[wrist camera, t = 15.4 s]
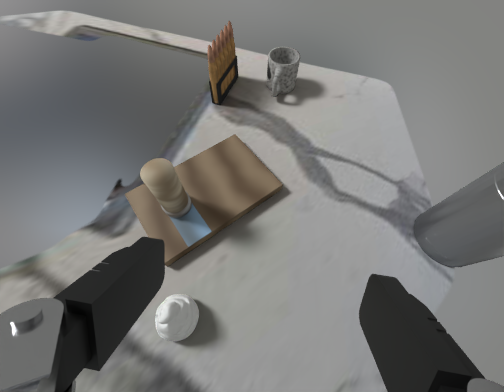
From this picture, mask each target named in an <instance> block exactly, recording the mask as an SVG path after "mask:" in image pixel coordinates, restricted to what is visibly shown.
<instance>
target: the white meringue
mask: <svg viewBox="0 0 504 392" xmlns="http://www.w3.org/2000/svg"><path fill="white" fill-rule="evenodd" d="M155 316H156V317H155V323H156V330H157V332H158V334H159V336H160V337H161V338H163V339H165V340H167V341H173V342H177V341H180V340H183V339H185V338H187V337H188V336H189V335H190V334H191V333H192V332H193V331H194V329H195V327H196V325H197V322H198V318H199V310H198V306H197V304H196V302H195V301H194V300H193V299H192V298H191V297H190V296H188V295H182V294H175V295H171V296H168V297H167V298H166V299H165V301H164V302H162V304H161V305H160V306H159V307H158V309H157V312H156V315H155Z"/></svg>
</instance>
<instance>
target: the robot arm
mask: <svg viewBox="0 0 504 392" xmlns="http://www.w3.org/2000/svg"><path fill="white" fill-rule="evenodd" d="M414 233H415V237H416V239H417V242H418V244H419V245H420V246H421V248H422V249H423V250H424V251H425V252H426V254H427V255H429V256H430V257H431V258H432V259H434V260H436V261H437V262H439V263H441V264H444V265H447V266H451V267H462V266H466V265H470V264H474V263H478V262H482V261H486V260H490V259H494V258H497V257H502V256H504V162H503V163H501V164H500V165H498V166H497V167H495V168H494V169H492V170H490V171H489V172H487V173H486V174H484V175H483V176H481V177H479V178H478V179H476V180H475V181H473V182H471V183H470V184H468V185H467V186H465V187H463V188H462V189H460V190H459V191H457V192H456V193H454V194H453V195H451V196H449V197H448V198H446V199H444V200H443V201H441V202H440V203H438V204H437V205H435V206H433V207H432V208H430V209H428V210H427V211H425V212H424V213H422V214H421V215H420V216H419V217H418V218H417V219H416V221H415V224H414ZM164 275H165V244H164V241H163V240H162V239H156V238H149V237H142V238H140V239H139V240H138V241H137V242H135V243H134V244H133V245H132V246H130V247H125V248H123V249H121V250H118V251H116V252H114V253H112V254H111V255H109V256H108V257H107V258H105V259H104V260H103V261H102V262H101V263H99V264H97V265H96V266H95V267H93V268H92V270H90V271H88V272H87V273H86V274H84V275H83V276H82V277H80V278H79V279H78V280H76V281H75V282H74V283H72V284H71V285H70V286H68V287H67V288H66V289H64V290H63V291H62V292H60V293H59V294H58V295H56V296H55V297H54V298H40V299H34V300H30V301H27V302H24V303H21V304H18V305H16V306H14V307H12V308H10V309H8V310H6V311H4V312H3V313H1V314H0V392H75V388H76V381H75V378H76V377H77V376H78V375H79V373H80V372H81V371H82V370H83V368H87V369H92V370H97V371H100V369H101V368H102V367H103V365H104V364H105V363H106V361H107V360H108V358H109V357H110V356H111V354H112V353H113V352H114V350H115V349H116V348H117V346H118V345H119V344H120V342H121V341H122V340H123V338H124V337H125V335H126V334H127V333H128V331H129V330H130V329H131V327H132V326H133V325H134V323H135V322H136V321H137V319H138V318H139V316H140V315H141V314H142V312H143V311H144V310H145V308H146V307H147V306H148V304H149V303H150V302H151V300H152V299H153V298H154V296H155V295H156V293H157V292H158V291H159V289H160V288H161V285H162V283H163V280H164ZM359 319H360V324H361V327H362V330H363V332H364V335H365V337H366V340H367V342H368V345H369V347H370V349H371V352H372V354H373V357H374V359H375V362H376V364H377V367H378V369H379V371H380V374H381V376H382V379H383V381H384V384H385V386H386V389H387V391H388V392H504V386H502V385H500V384H497V383H495V382H492V381H490V380H486V379H485V378H484V376H483V375H482V374H481V373H480V372H479V370H478V369H477V368H476V366H475V365H474V364H473V363H472V362H471V360H470V359H469V358H468V357H467V355H466V354H465V353H464V352H463V351H462V349H461V348H460V347H459V346H458V345H457V343H456V342H455V341H454V340H453V338H452V337H451V336H450V335H449V334H447V333H446V330H445V329H444V327H443V326H442V325H441V324H440V322H437V319H436V318H435V316H434V315H433V314H432V313H431V311H430V310H429V309H428V308H427V306H425V305H424V304H423V303H422V302H420V301H419V300H418V299H417V298H415V297H414V296H413V295H411V294H408V292H407V291H406V290H405V288H404V287H403V286H402V285H401V283H400V282H399V281H398V279H397V278H395V277H389V276H383V275H377V274H372V275H371V276H370V277H369V280H368V283H367V286H366V289H365V293H364V296H363V299H362V302H361V306H360V310H359Z"/></svg>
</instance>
